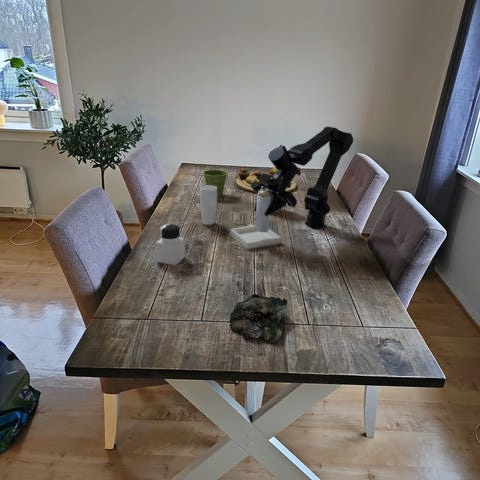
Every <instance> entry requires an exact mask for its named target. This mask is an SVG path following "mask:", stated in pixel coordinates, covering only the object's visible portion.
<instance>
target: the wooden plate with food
mask: <svg viewBox="0 0 480 480" xmlns="http://www.w3.org/2000/svg"><path fill="white" fill-rule="evenodd" d="M278 172H279V170H278V169H276V167H275V166H273V167H271V168H270V170H269V173H268V174H269V175H273V174H277V173H278ZM262 173H263V172H261V171H259V170H255V171H253V172H251V173H250V171H249V170H248V169H246V168H241V169H240V170H239V171H238V177H237V178H236V179H235V186H236V187H238V188H239V189H240V190H242V191H244V192H248V193H251V194H256V195H257V193H256V192H255V191H254V190H253V188H252V187H251V186H250V185H251V184H252V183H253V181H258V182H260V178H261V175H262ZM261 183H262V182H261ZM290 185H291V187H290V188H287V189H286V190H285V191H287V192H290V193H292V192H295V191H296V189H297V183H296V182H295V180H292V181H291V183H290Z"/></svg>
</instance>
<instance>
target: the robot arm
mask: <svg viewBox="0 0 480 480" xmlns="http://www.w3.org/2000/svg"><path fill="white" fill-rule="evenodd" d="M353 143H354V137H353V135H352V133H351V132H347V131H346V132H345V131H342V130H341V129H340V130H339V129H338V128H337V127H334V126H325V127H323V130H321V131H319V132H318V133H317V134H315V135H314V136H312V137H311V138H310V139H308V140H307V141H306V142H303V143H300V144H295V145H294V146H291V147H290V148H289V149H288V150H287V148H286V146H285V145H282V144H280V145H279V146H277V147H275V148H273V149H272V150H270V151H269V153H268V159H269V161H270V162H271V163H272V165H273V167H276V169H278V170H279V172H278V173H277V174H273V175H269V173H266V172H261V173H262V175H261V178H260V182H258V181H253V183H252V184H251V185H250V186H251V187H252V188H253V190H254V191H255V192H256V193H257V194H258V191H259V190H268V191H270V195H271V196H273V201H272V202H271V204H270V206H269V207H268V209H267V210H266V212H265V216H268V215H269V214H270V215H272V214H271V213H273V212H274V211H276V210H278V209H280V208H282V209H283V208H286V207H287V206H288V207H291V208H295V207H296V205H297V203H298V200H297V198H296V197H295V196H294V195H293V193H292V192H287V191H285V190H286V189H287V188H290V187H291V185H290V183H291V181H292V180H293V179H294V178H295V177H296V175H297V176H301V174H302V173H301V167H299V166H303V167H304V166H306V165H307V164H308V163H309V162H310V161H311V160H312V159H313V155H314V154H315V153H316V152H317V151H320V149H321V148H323V147H324V146H326V145H327V144H328V148H329V153H328V155H327V158H326V159H325V162H324V164H323V166H322V169H321V172H320V174H319V176H318V179H317V181H316V183H315V185H314V186H313V187H308V189H307V191H306V194H305V195H304V201H303V202H304V207H305V210H307V211H308V213H307V217H306V221H305V222H304V224H305V225H307V226H308V227H310V228H312V229H315V230H316V229H321V228H326V227H327V224H325V222H326V221H325V220H326V215H328V214H330V211H331V206H330V205H329V203H328V200H329V196H328V195H329V194H328V189H329V186H330V185H331V182H332V180H333V177H334V175H335V172H336V170H337V167H338V165H339V164H340V160H341V158H342V157H343V156H344V155H345V154H346V153H348V152H349V151H350V148H351V146H352V145H353ZM297 165H298V166H297ZM293 181H294V180H293ZM261 182H264V183H266V184H265V185H266V186H267V187H268V188H266V187H265V186H264V185H263V183H261ZM256 193H255V194H256ZM257 194H256V195H257ZM256 208H257V201H256V202H255V206H254V210H253V211H254V212H255V213H256Z"/></svg>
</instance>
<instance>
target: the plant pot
mask: <svg viewBox="0 0 480 480" xmlns="http://www.w3.org/2000/svg"><path fill="white" fill-rule="evenodd" d="M202 174H203V175H204V177H203V178H204V179H205V185H212V186H216V187H217V198H221V197H222V196H223V194H224V189H225V184H226V179H227V175H228V174H229V173H228V171H226V170H222V169H207V170H204V171H203V172H202Z"/></svg>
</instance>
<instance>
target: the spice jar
mask: <svg viewBox="0 0 480 480" xmlns="http://www.w3.org/2000/svg"><path fill="white" fill-rule="evenodd" d="M256 202H257V208H256V212H255V225H256V227H255V230H256V231H258V232H267V231H269V229H270V215H271V214H269V215H268V216H265V212H266V210H267V209H268V207H269V206H270V203H271V195H270V191H268V190H259V191H258V194H256Z"/></svg>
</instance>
